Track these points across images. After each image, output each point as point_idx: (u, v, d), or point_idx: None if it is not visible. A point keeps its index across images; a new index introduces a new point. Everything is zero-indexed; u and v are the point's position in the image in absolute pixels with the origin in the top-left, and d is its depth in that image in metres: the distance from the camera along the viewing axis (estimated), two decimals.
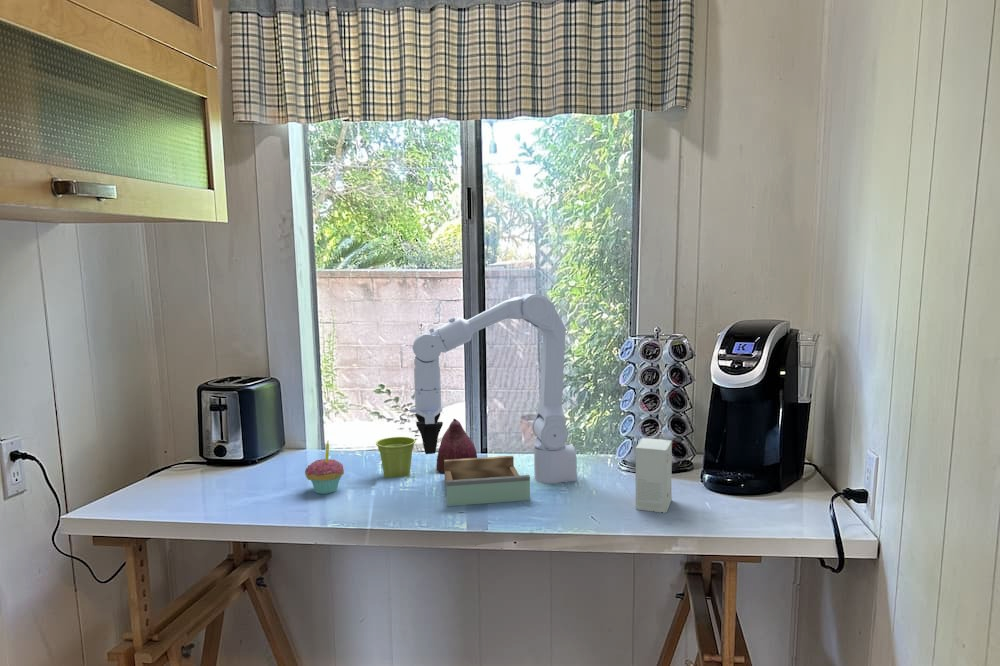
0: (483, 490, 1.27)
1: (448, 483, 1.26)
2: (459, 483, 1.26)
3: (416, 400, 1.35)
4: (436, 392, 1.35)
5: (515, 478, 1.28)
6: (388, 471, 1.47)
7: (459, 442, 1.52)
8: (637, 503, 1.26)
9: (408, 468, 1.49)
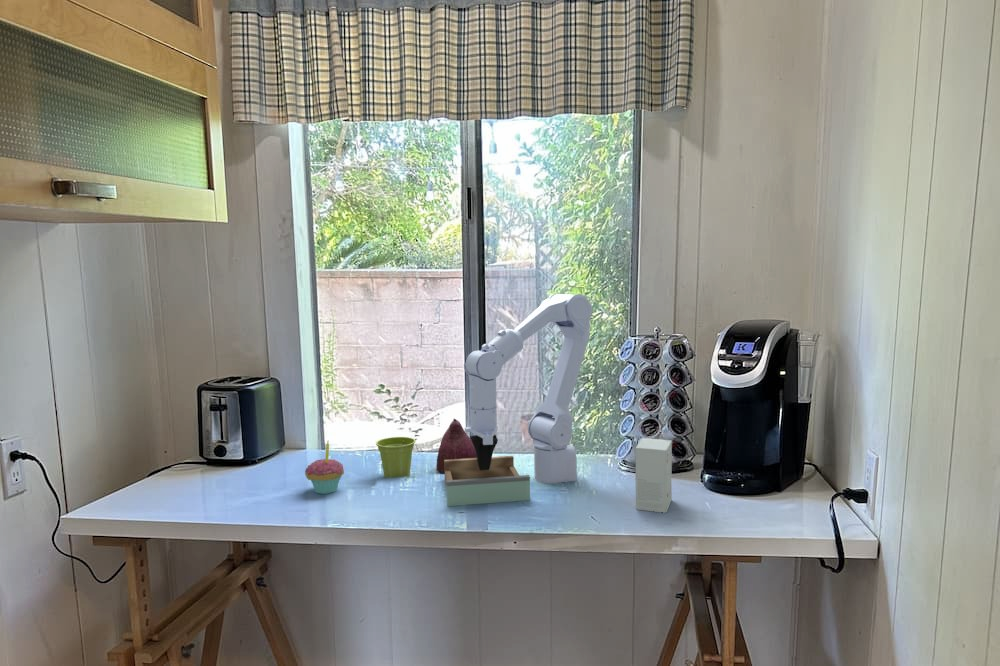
0: (483, 490, 1.27)
1: (448, 483, 1.26)
2: (459, 483, 1.26)
3: (472, 419, 1.31)
4: (492, 411, 1.31)
5: (515, 478, 1.28)
6: (388, 471, 1.47)
7: (459, 442, 1.52)
8: (637, 503, 1.26)
9: (408, 468, 1.49)
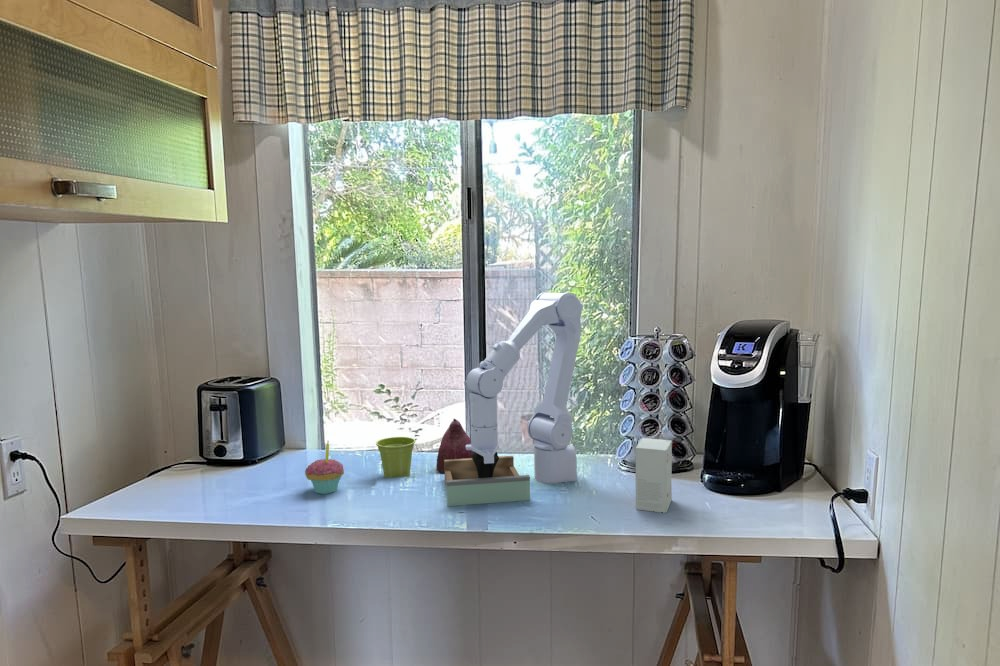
0: (483, 490, 1.27)
1: (448, 483, 1.26)
2: (459, 483, 1.26)
3: (473, 437, 1.31)
4: (493, 429, 1.30)
5: (515, 478, 1.28)
6: (388, 471, 1.47)
7: (459, 442, 1.52)
8: (637, 503, 1.26)
9: (408, 468, 1.49)
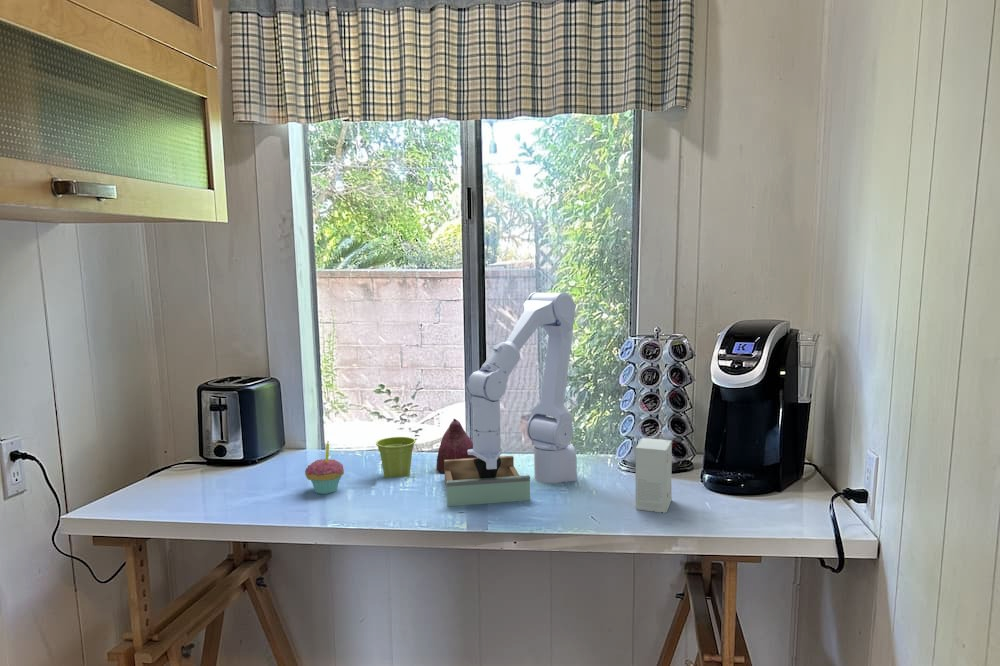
0: (483, 491, 1.27)
1: (448, 483, 1.26)
2: (459, 483, 1.26)
3: (475, 442, 1.27)
4: (496, 433, 1.26)
5: (515, 478, 1.28)
6: (388, 471, 1.47)
7: (459, 442, 1.52)
8: (637, 503, 1.26)
9: (408, 468, 1.49)
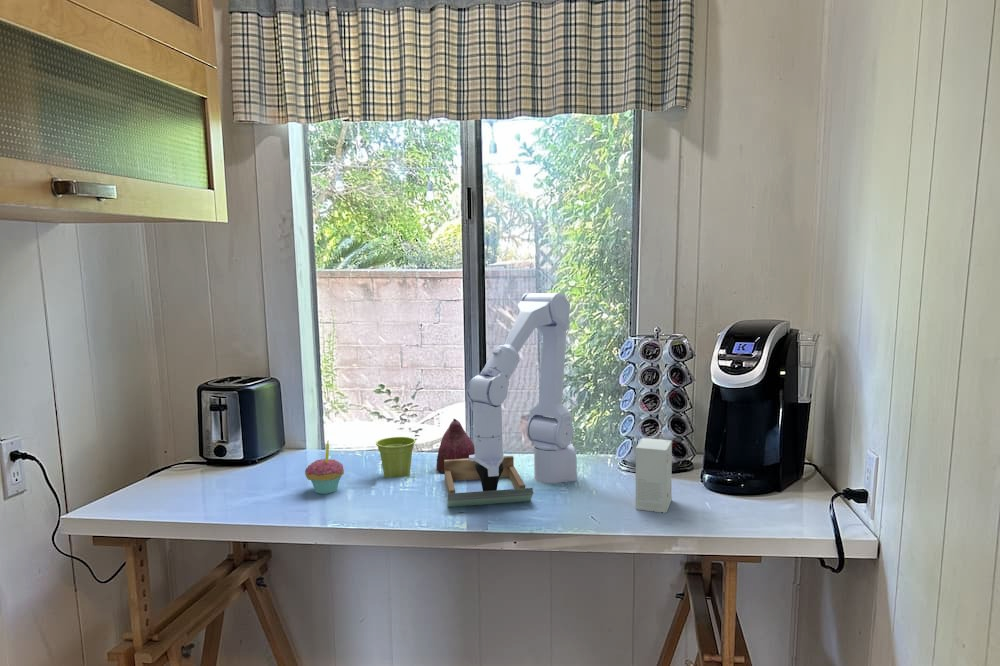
0: (484, 501, 1.26)
1: (449, 499, 1.23)
2: (461, 499, 1.24)
3: (476, 448, 1.24)
4: (498, 439, 1.24)
5: (518, 494, 1.25)
6: (388, 471, 1.47)
7: (459, 442, 1.52)
8: (637, 503, 1.26)
9: (408, 468, 1.49)
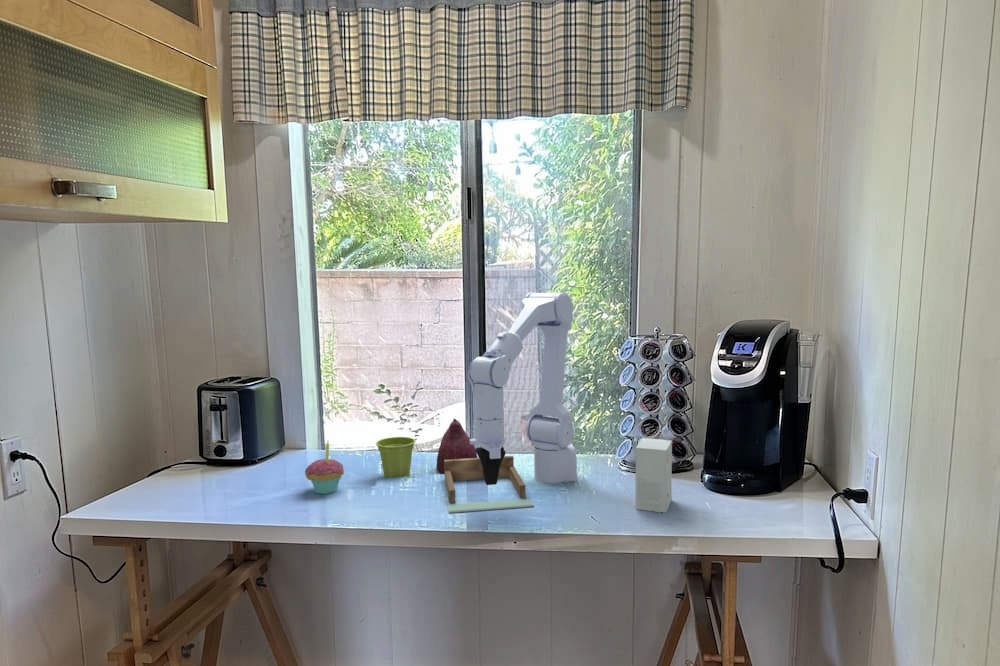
0: None
1: None
2: None
3: (477, 431, 1.22)
4: (500, 422, 1.21)
5: None
6: (388, 471, 1.47)
7: (459, 442, 1.52)
8: (637, 503, 1.26)
9: (408, 468, 1.49)
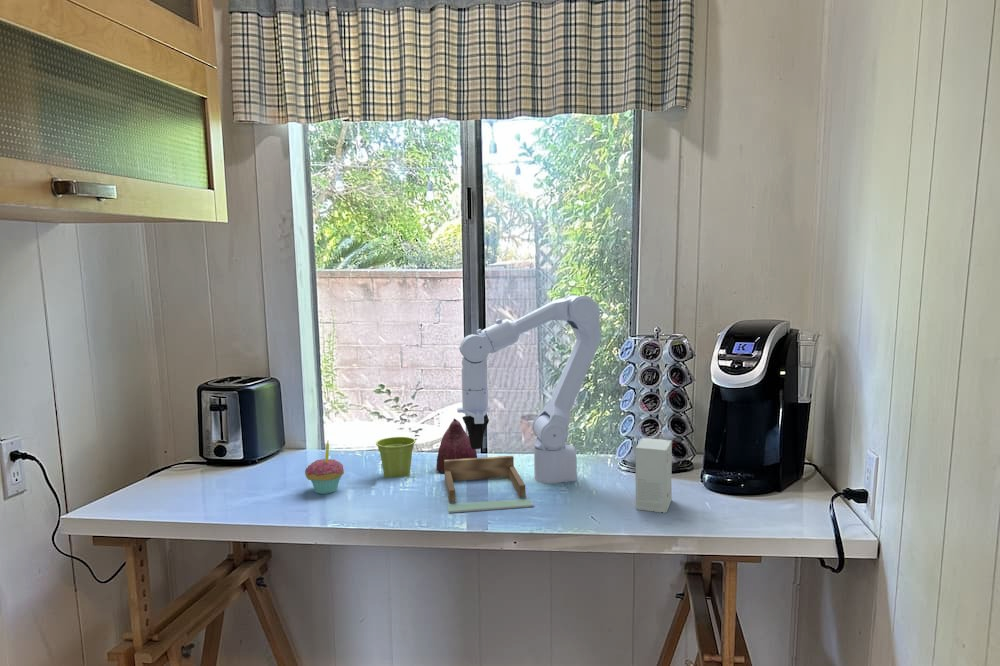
0: None
1: None
2: None
3: (464, 400, 1.37)
4: (484, 392, 1.37)
5: None
6: (388, 471, 1.47)
7: (459, 442, 1.52)
8: (637, 503, 1.26)
9: (408, 468, 1.49)
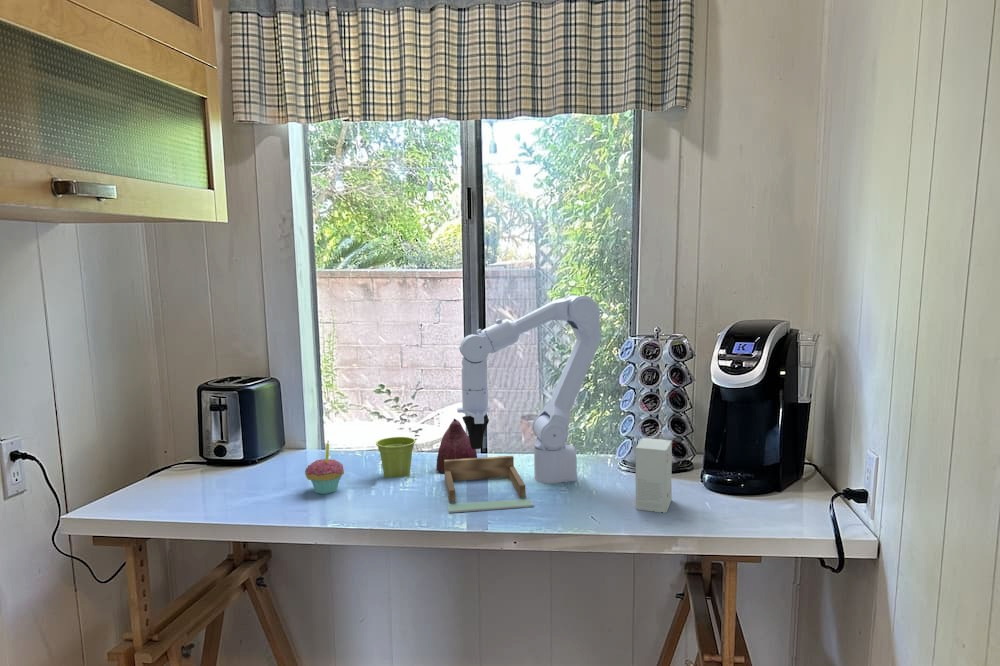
0: None
1: None
2: None
3: (464, 400, 1.37)
4: (484, 392, 1.37)
5: None
6: (388, 471, 1.47)
7: (459, 442, 1.52)
8: (637, 503, 1.26)
9: (408, 468, 1.49)
